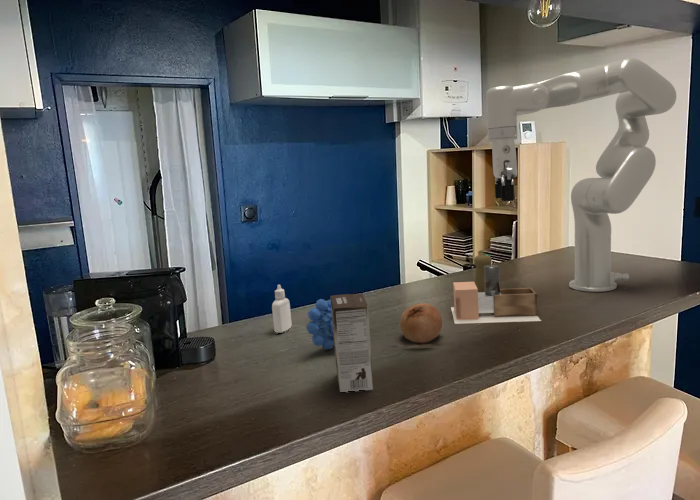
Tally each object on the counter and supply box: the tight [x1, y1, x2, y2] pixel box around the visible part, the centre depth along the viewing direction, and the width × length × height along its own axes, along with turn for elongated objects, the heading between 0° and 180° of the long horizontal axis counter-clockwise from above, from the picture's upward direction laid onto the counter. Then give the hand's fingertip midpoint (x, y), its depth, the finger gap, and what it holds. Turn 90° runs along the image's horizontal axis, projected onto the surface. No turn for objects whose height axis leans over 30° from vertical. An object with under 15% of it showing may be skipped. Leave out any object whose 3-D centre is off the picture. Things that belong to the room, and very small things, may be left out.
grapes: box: [306, 298, 334, 350], centre depth 115 cm, size 12×7×12 cm, turn 138°
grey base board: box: [450, 306, 542, 325], centre depth 130 cm, size 20×14×1 cm
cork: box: [473, 254, 493, 292], centre depth 155 cm, size 6×6×11 cm
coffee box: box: [329, 293, 374, 393], centre depth 97 cm, size 9×6×16 cm
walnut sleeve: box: [493, 287, 538, 317], centre depth 129 cm, size 10×6×6 cm, turn 83°
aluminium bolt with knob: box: [478, 264, 501, 313], centre depth 130 cm, size 10×4×11 cm, turn 83°
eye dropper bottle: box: [271, 284, 293, 333], centre depth 132 cm, size 4×6×12 cm
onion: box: [399, 302, 443, 344], centre depth 117 cm, size 10×9×10 cm
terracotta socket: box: [452, 281, 479, 320], centre depth 131 cm, size 5×8×8 cm, turn 173°
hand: (504, 199), depth 141 cm, fingers open, 9 cm apart
